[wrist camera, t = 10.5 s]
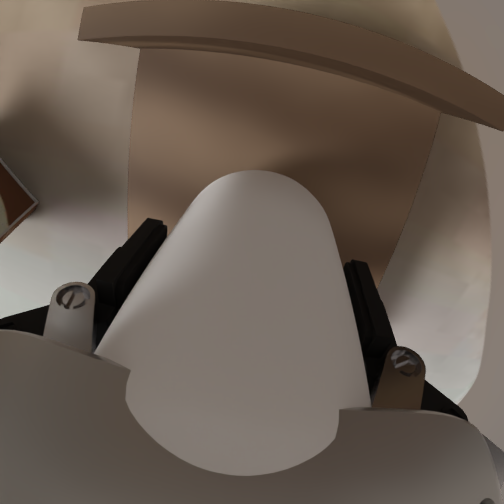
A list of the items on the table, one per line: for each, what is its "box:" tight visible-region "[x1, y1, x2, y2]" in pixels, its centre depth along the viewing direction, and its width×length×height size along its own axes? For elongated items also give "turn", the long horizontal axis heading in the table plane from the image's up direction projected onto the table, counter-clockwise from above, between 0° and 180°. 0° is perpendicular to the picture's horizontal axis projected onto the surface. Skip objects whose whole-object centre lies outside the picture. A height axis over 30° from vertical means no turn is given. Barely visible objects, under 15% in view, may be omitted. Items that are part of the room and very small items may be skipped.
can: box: [94, 170, 371, 476], centre depth 9 cm, size 6×6×12 cm
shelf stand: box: [78, 0, 504, 288], centre depth 15 cm, size 18×14×9 cm
